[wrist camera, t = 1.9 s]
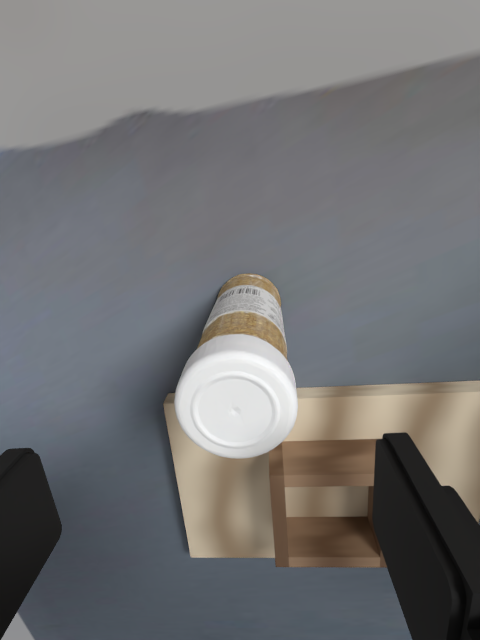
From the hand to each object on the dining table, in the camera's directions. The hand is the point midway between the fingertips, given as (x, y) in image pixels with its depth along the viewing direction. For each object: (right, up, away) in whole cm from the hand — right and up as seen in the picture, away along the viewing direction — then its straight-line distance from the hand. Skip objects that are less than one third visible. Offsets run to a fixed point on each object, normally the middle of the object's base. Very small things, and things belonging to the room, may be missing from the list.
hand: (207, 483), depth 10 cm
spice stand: (+8, -8, +20) cm, 23 cm away
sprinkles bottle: (+2, +6, +16) cm, 17 cm away
